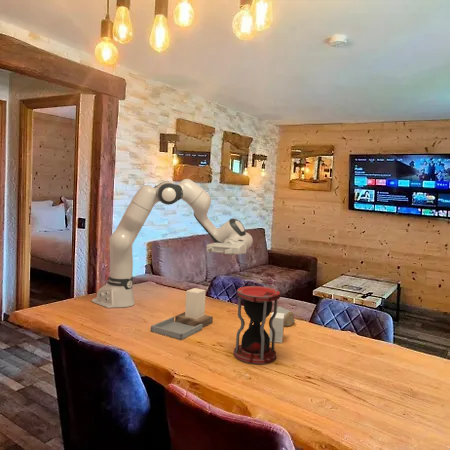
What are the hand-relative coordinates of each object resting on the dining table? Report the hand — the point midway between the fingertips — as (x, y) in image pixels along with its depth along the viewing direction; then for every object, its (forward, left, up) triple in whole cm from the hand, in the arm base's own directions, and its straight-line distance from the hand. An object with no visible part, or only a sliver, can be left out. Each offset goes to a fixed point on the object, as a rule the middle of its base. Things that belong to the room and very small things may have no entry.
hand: (216, 251), depth 203 cm
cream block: (0, -17, -28) cm, 33 cm away
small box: (+39, -13, -31) cm, 52 cm away
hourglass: (+39, -34, -31) cm, 61 cm away
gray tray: (0, -30, -31) cm, 43 cm away
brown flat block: (0, -17, -31) cm, 35 cm away
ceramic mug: (+34, +8, -31) cm, 47 cm away
